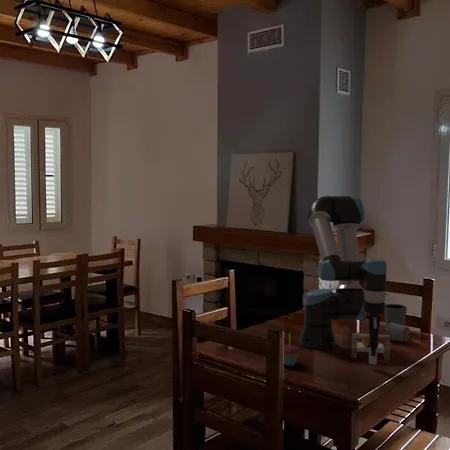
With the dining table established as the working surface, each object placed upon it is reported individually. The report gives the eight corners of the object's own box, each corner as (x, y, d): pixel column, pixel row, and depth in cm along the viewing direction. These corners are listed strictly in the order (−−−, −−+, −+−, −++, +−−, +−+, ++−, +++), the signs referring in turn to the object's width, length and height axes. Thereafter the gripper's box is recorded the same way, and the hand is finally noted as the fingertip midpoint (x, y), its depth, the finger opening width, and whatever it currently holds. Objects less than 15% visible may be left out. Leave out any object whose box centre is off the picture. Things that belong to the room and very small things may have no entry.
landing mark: (352, 351, 224) (352, 350, 224) (351, 342, 237) (351, 341, 237) (385, 353, 221) (385, 352, 221) (382, 344, 234) (382, 343, 234)
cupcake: (277, 359, 211) (278, 329, 211) (299, 360, 211) (300, 330, 210) (279, 367, 203) (279, 335, 202) (301, 367, 203) (302, 336, 202)
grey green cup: (410, 332, 254) (411, 307, 253) (396, 335, 249) (396, 309, 248) (393, 327, 263) (393, 302, 262) (378, 330, 257) (379, 305, 256)
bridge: (389, 360, 212) (390, 337, 212) (351, 357, 215) (352, 334, 215) (388, 357, 215) (389, 335, 215) (351, 355, 218) (351, 332, 217)
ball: (361, 344, 233) (361, 348, 228) (361, 332, 233) (362, 335, 228) (374, 345, 232) (375, 349, 227) (374, 332, 232) (375, 336, 227)
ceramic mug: (404, 344, 234) (405, 327, 234) (386, 341, 239) (386, 323, 238) (412, 339, 243) (413, 322, 242) (394, 336, 247) (395, 319, 247)
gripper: (386, 305, 194) (384, 370, 195) (383, 298, 206) (381, 358, 208) (365, 304, 195) (363, 368, 197) (363, 297, 208) (361, 357, 210)
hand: (372, 363), depth 202 cm, fingers closed
